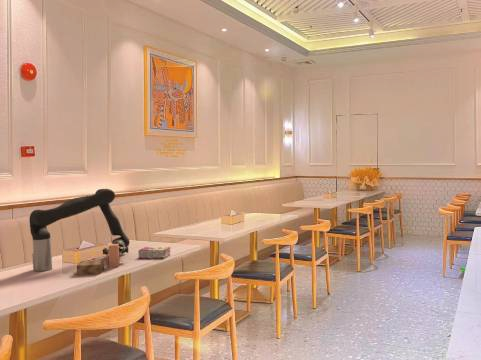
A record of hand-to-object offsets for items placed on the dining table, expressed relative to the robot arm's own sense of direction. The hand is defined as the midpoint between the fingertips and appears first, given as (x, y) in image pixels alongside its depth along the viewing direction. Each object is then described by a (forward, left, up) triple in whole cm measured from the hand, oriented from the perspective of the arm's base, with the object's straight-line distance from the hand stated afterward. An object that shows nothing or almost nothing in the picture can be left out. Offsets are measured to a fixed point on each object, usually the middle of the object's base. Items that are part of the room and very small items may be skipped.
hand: (114, 252), depth 281 cm
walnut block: (-11, -13, -7) cm, 18 cm away
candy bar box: (+13, +20, -4) cm, 25 cm away
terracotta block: (0, -2, -7) cm, 7 cm away
